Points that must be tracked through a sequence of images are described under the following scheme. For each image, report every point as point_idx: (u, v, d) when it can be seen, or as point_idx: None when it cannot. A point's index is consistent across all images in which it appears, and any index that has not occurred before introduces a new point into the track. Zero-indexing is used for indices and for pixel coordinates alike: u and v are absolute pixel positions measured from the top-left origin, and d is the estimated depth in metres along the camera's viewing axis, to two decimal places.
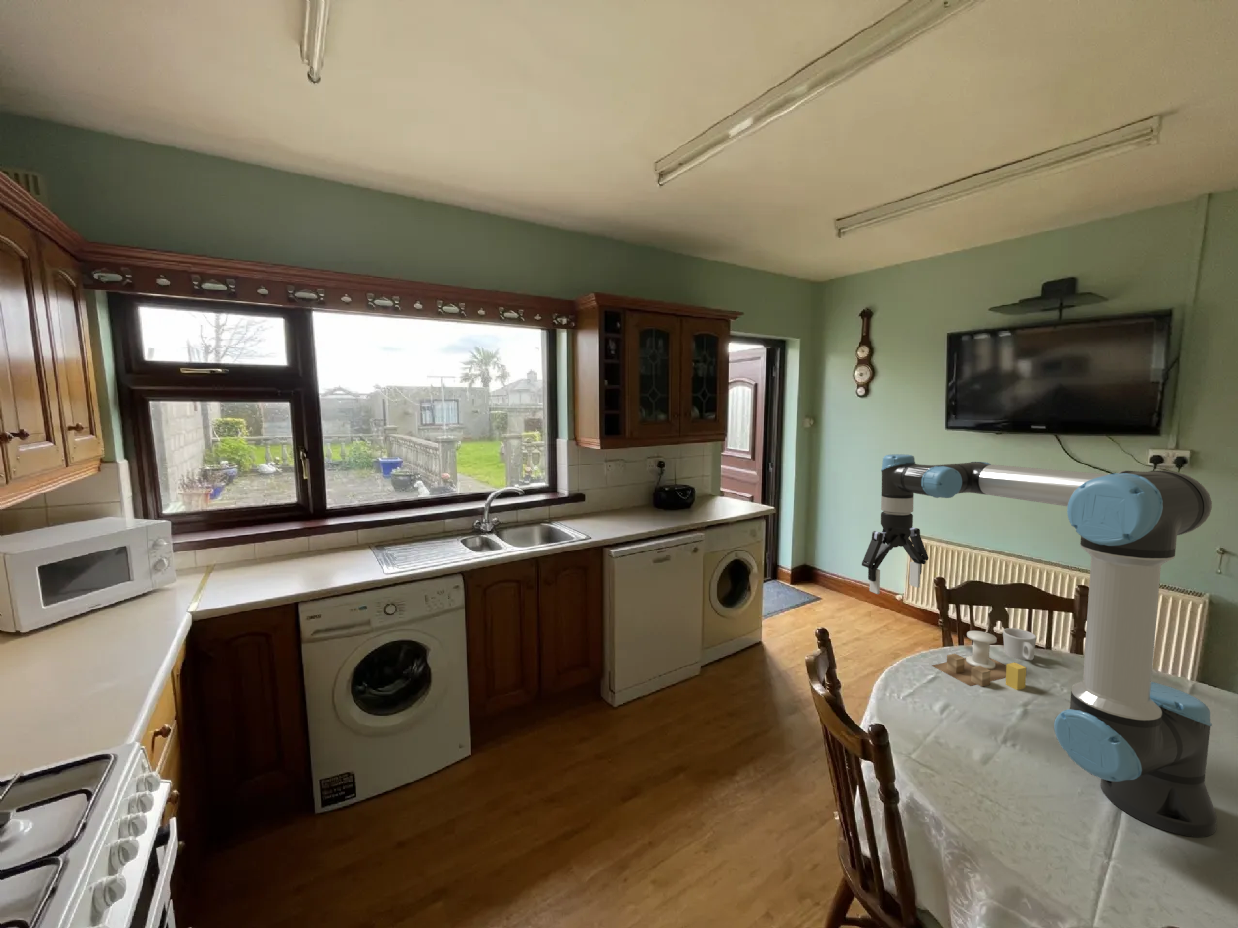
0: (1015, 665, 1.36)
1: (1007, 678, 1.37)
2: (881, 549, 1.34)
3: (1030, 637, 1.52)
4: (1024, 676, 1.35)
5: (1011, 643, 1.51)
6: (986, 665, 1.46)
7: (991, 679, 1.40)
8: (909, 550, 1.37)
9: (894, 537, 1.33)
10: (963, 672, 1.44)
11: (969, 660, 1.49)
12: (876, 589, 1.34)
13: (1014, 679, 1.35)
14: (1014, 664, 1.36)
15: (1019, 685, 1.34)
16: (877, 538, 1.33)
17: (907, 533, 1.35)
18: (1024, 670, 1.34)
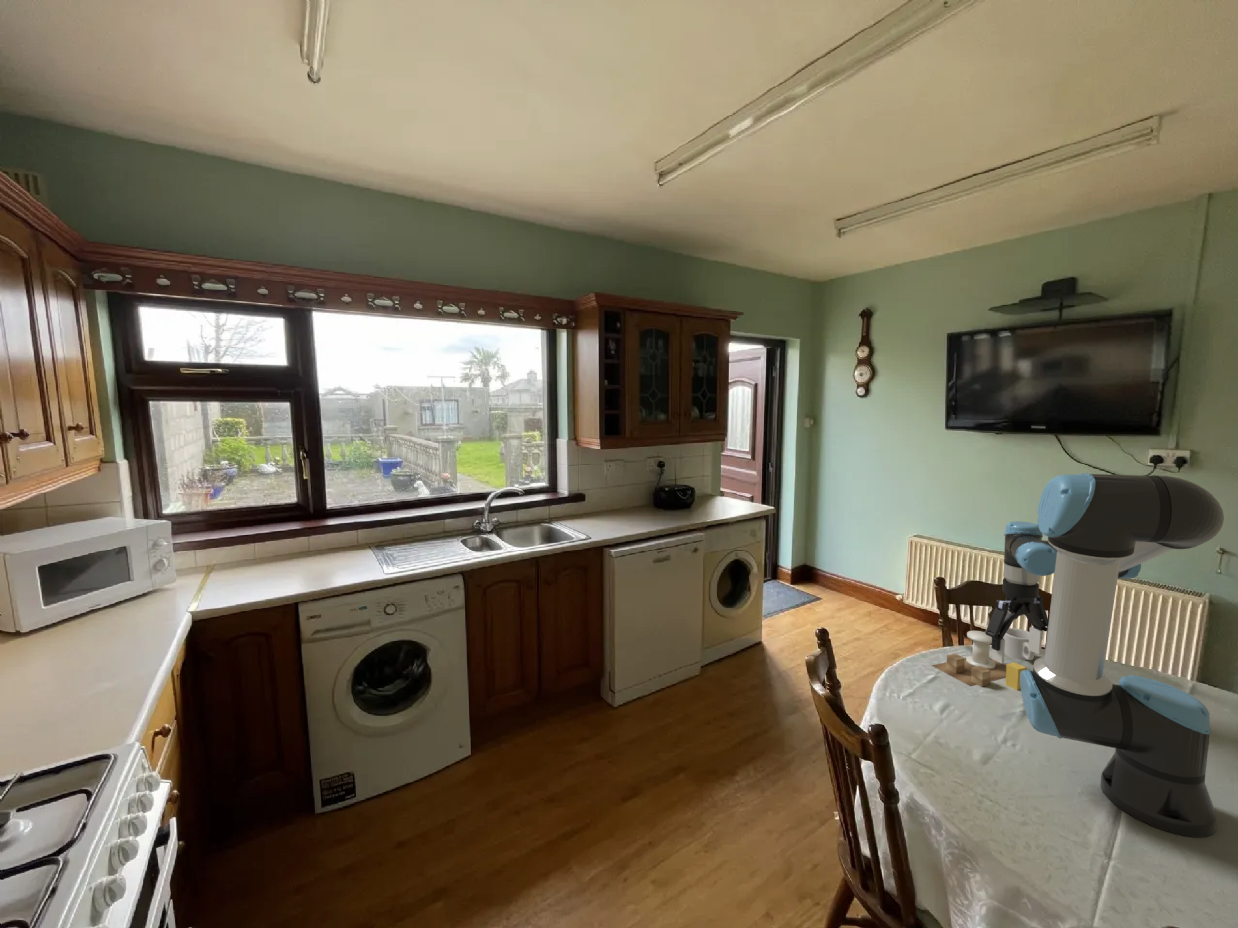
0: (1015, 665, 1.36)
1: (1007, 678, 1.37)
2: (1005, 618, 1.33)
3: None
4: None
5: (1011, 643, 1.51)
6: (986, 665, 1.46)
7: (991, 679, 1.40)
8: (1031, 617, 1.36)
9: (1019, 606, 1.32)
10: (963, 672, 1.44)
11: (969, 660, 1.49)
12: (1000, 658, 1.33)
13: (1014, 679, 1.35)
14: (1014, 664, 1.36)
15: (1019, 685, 1.34)
16: (1002, 608, 1.31)
17: (1031, 601, 1.34)
18: None
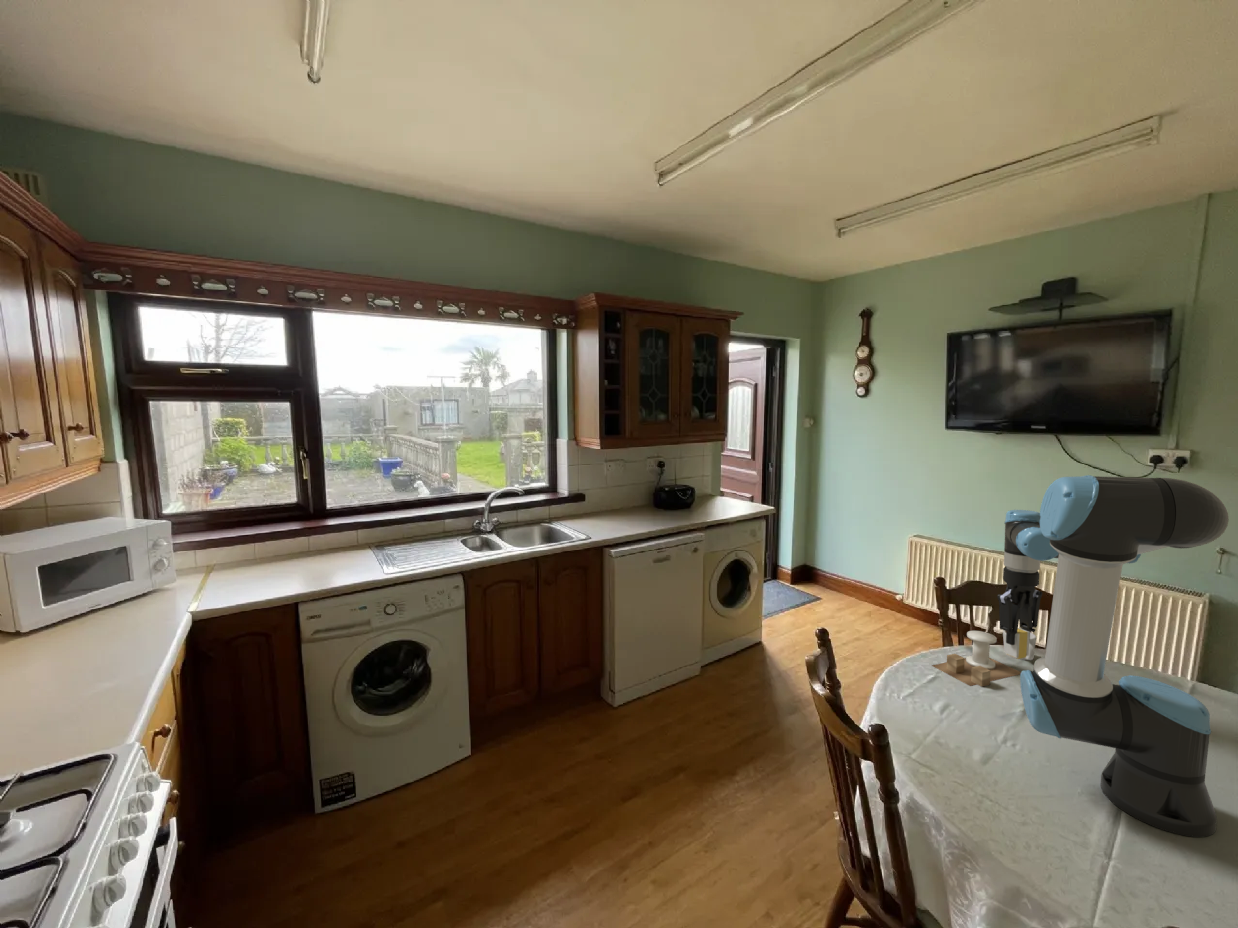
0: None
1: None
2: (1012, 610, 1.33)
3: (1030, 637, 1.52)
4: (1025, 641, 1.34)
5: None
6: (986, 665, 1.46)
7: (991, 679, 1.40)
8: (1024, 612, 1.34)
9: (1020, 596, 1.32)
10: (963, 672, 1.44)
11: (969, 660, 1.49)
12: (1015, 653, 1.33)
13: None
14: None
15: (1020, 650, 1.33)
16: (1005, 602, 1.31)
17: (1032, 589, 1.33)
18: (1025, 635, 1.33)
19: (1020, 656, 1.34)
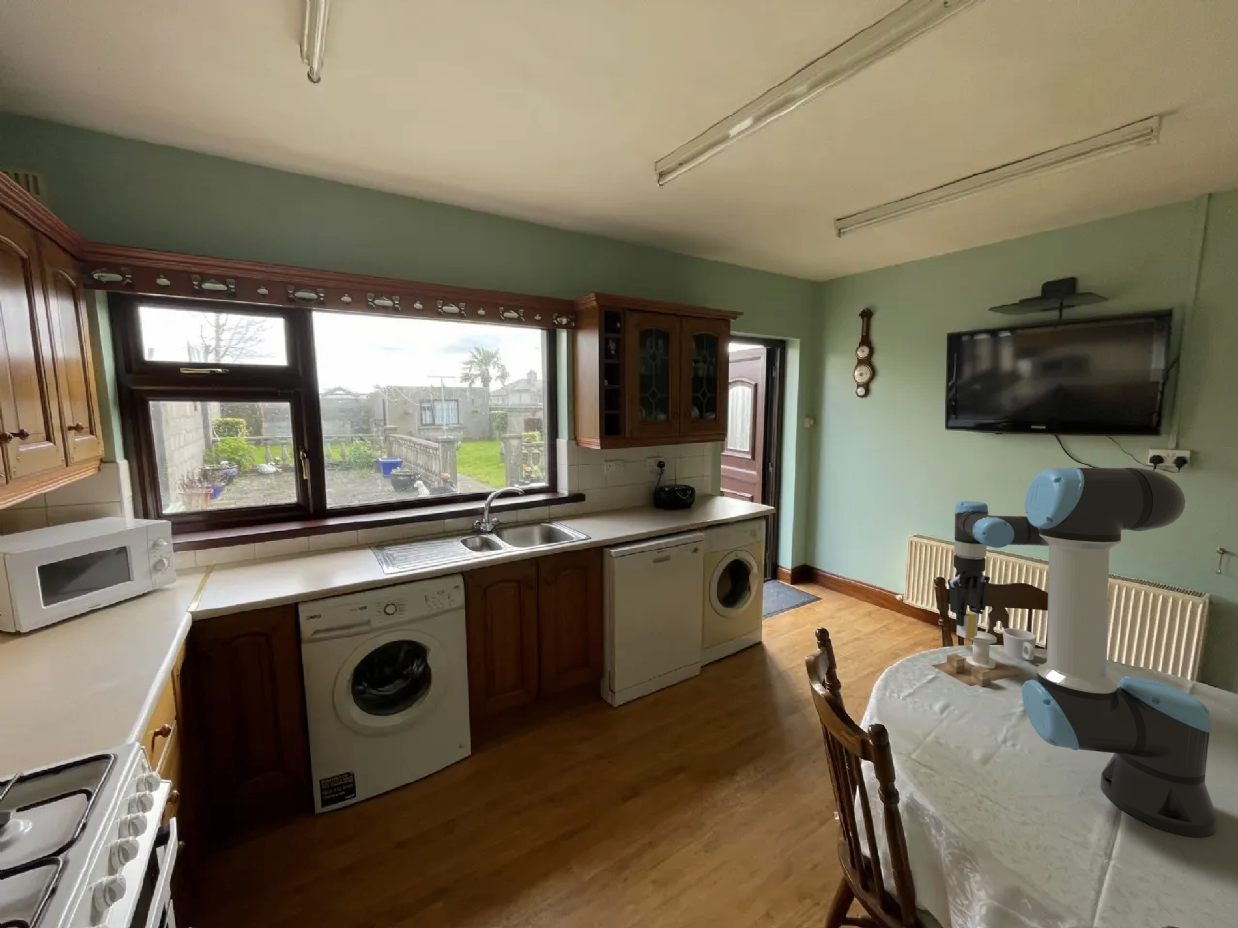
0: (966, 612, 1.45)
1: None
2: (961, 594, 1.44)
3: (1030, 637, 1.52)
4: (974, 622, 1.44)
5: (1011, 643, 1.51)
6: (986, 665, 1.46)
7: (991, 679, 1.40)
8: (973, 595, 1.45)
9: (968, 581, 1.42)
10: (963, 672, 1.44)
11: (969, 660, 1.49)
12: (964, 633, 1.44)
13: None
14: None
15: (969, 630, 1.44)
16: (954, 587, 1.42)
17: (979, 574, 1.44)
18: (974, 616, 1.44)
19: (969, 636, 1.44)
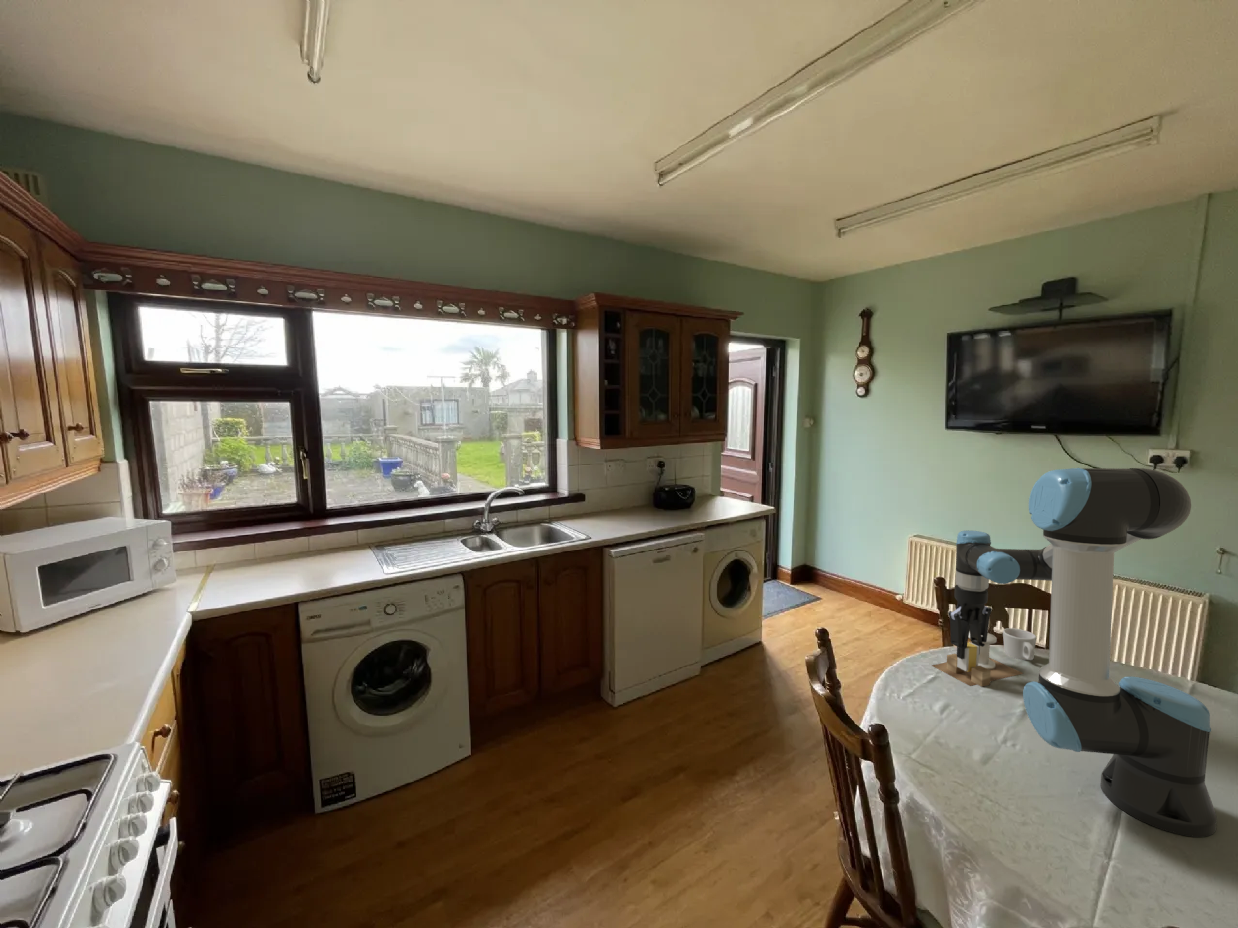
0: (967, 644, 1.41)
1: None
2: (962, 626, 1.40)
3: (1030, 637, 1.52)
4: (975, 654, 1.40)
5: (1011, 643, 1.51)
6: (986, 665, 1.46)
7: (991, 679, 1.40)
8: (974, 627, 1.41)
9: (969, 613, 1.38)
10: (963, 672, 1.44)
11: None
12: (965, 666, 1.40)
13: None
14: None
15: (970, 663, 1.40)
16: (955, 619, 1.38)
17: (981, 606, 1.40)
18: (975, 649, 1.40)
19: (970, 669, 1.40)
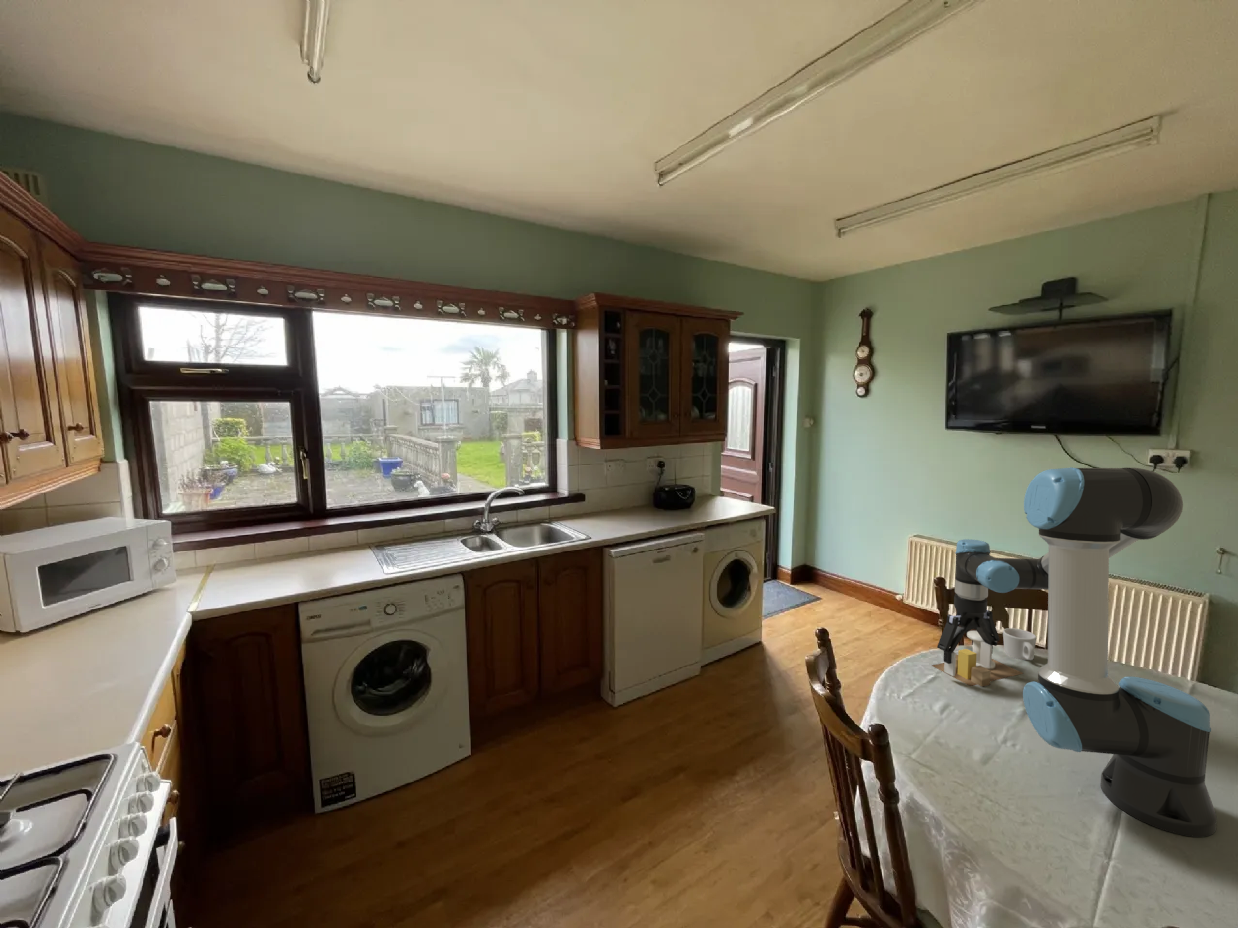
0: (967, 651, 1.42)
1: (959, 664, 1.42)
2: (956, 632, 1.39)
3: (1030, 637, 1.52)
4: (974, 662, 1.41)
5: (1011, 643, 1.51)
6: None
7: (991, 679, 1.40)
8: (981, 632, 1.41)
9: (969, 621, 1.38)
10: None
11: None
12: (952, 671, 1.38)
13: (965, 665, 1.41)
14: (965, 650, 1.42)
15: (970, 670, 1.40)
16: (953, 622, 1.37)
17: (980, 616, 1.40)
18: (974, 656, 1.40)
19: (970, 676, 1.40)
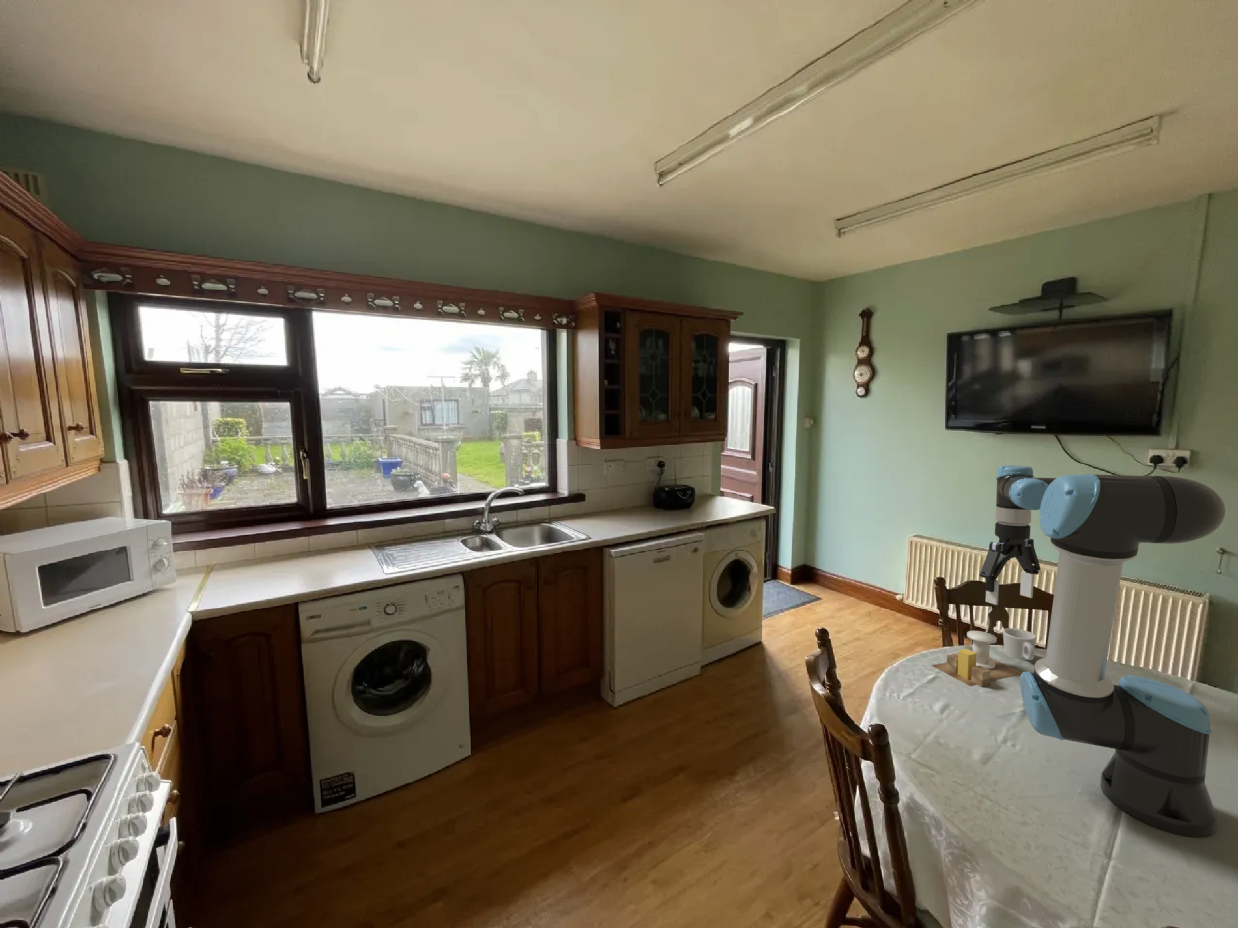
0: (967, 651, 1.42)
1: (959, 664, 1.42)
2: (998, 560, 1.35)
3: (1030, 637, 1.52)
4: (974, 662, 1.41)
5: (1011, 643, 1.51)
6: (986, 665, 1.46)
7: (991, 679, 1.40)
8: (1022, 561, 1.38)
9: (1012, 548, 1.34)
10: None
11: None
12: (994, 600, 1.34)
13: (965, 665, 1.41)
14: (965, 650, 1.42)
15: (970, 670, 1.40)
16: (996, 549, 1.33)
17: (1022, 544, 1.36)
18: (974, 656, 1.40)
19: (970, 676, 1.40)
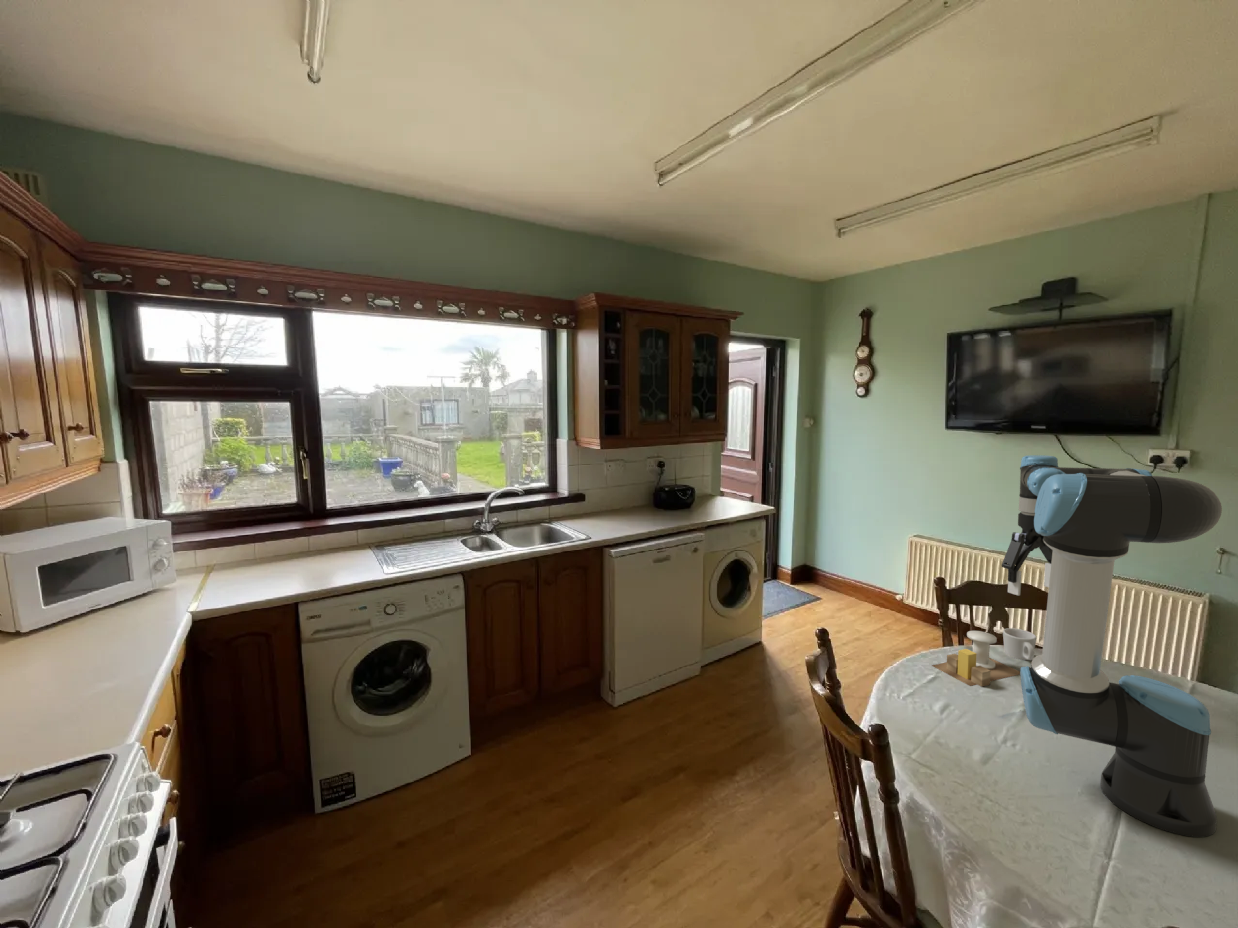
0: (967, 651, 1.42)
1: (959, 664, 1.42)
2: (1021, 550, 1.34)
3: (1030, 637, 1.52)
4: (974, 662, 1.41)
5: (1011, 643, 1.51)
6: (986, 665, 1.46)
7: (991, 679, 1.40)
8: (1046, 552, 1.36)
9: (1035, 538, 1.33)
10: None
11: None
12: (1017, 590, 1.33)
13: (965, 665, 1.41)
14: (965, 650, 1.42)
15: (970, 670, 1.40)
16: (1019, 539, 1.32)
17: None
18: (974, 656, 1.40)
19: (970, 676, 1.40)
